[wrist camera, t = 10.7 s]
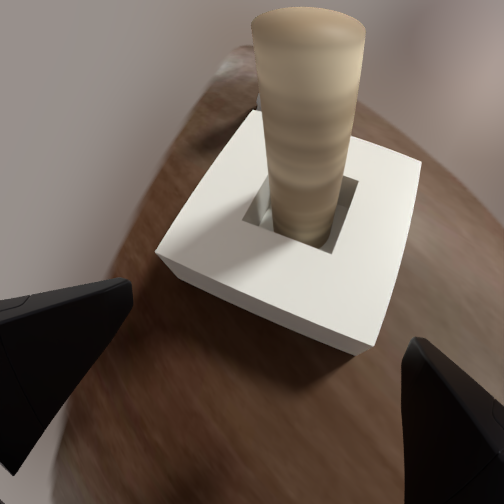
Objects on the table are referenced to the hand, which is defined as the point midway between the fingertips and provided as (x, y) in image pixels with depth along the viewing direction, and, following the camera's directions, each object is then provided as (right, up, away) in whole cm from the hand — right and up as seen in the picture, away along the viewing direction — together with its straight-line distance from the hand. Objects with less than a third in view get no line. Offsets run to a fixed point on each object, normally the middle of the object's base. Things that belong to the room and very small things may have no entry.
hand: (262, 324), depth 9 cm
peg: (+3, +4, +10) cm, 11 cm away
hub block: (+3, +3, +11) cm, 12 cm away
